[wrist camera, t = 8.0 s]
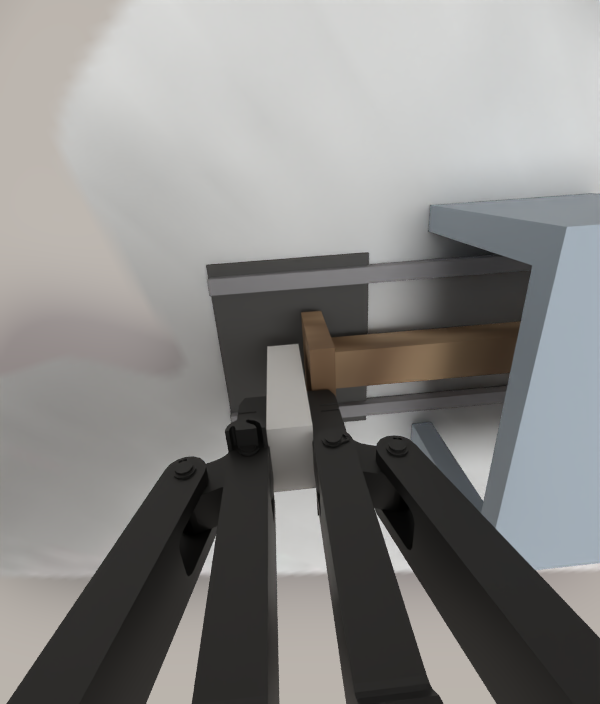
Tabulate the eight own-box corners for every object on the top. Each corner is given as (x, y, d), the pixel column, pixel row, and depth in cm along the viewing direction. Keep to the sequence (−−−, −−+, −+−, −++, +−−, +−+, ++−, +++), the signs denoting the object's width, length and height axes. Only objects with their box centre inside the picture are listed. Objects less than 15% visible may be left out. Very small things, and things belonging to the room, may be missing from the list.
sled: (306, 400, 21) (318, 475, 16) (299, 299, 19) (311, 349, 13) (695, 364, 22) (834, 424, 17) (741, 264, 19) (922, 296, 14)
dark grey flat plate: (234, 430, 22) (234, 432, 22) (206, 264, 18) (206, 265, 18) (365, 417, 23) (365, 419, 22) (367, 252, 18) (368, 253, 18)
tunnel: (239, 455, 23) (221, 604, 15) (199, 222, 17) (135, 259, 9) (665, 414, 24) (864, 533, 16) (767, 180, 18) (1165, 181, 10)
